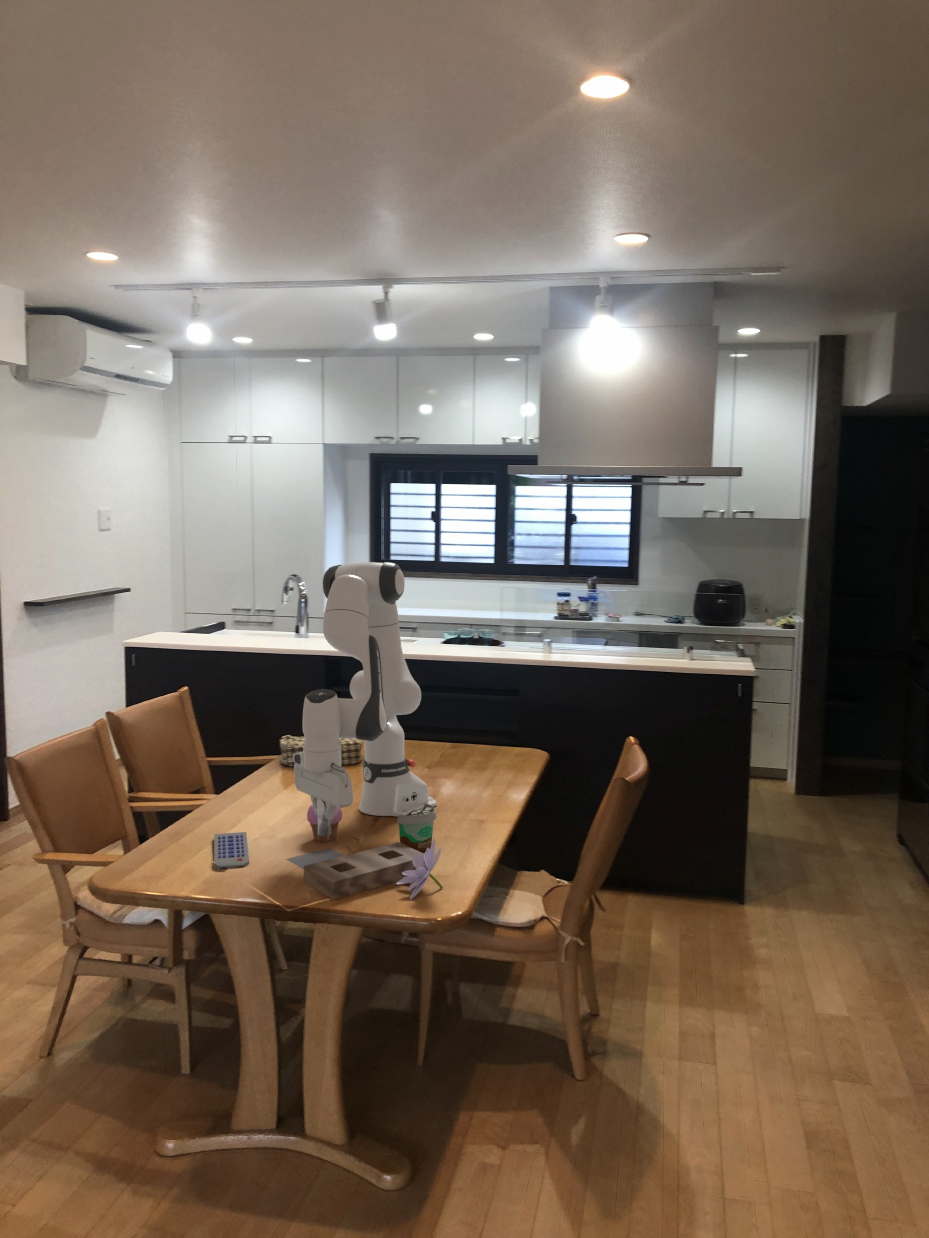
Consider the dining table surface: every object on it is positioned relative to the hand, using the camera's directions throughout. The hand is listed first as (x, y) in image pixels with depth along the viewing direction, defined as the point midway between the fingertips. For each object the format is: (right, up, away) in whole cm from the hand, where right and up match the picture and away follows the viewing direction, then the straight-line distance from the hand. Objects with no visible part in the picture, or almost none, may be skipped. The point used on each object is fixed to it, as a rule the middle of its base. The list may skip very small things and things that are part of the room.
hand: (324, 816), depth 226 cm
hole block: (+11, -12, -9) cm, 19 cm away
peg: (0, -4, 0) cm, 4 cm away
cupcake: (-2, -10, +16) cm, 19 cm away
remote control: (-24, -11, +7) cm, 27 cm away
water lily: (+23, -13, -14) cm, 30 cm away
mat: (-1, -11, +1) cm, 11 cm away
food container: (+23, -11, +10) cm, 27 cm away
